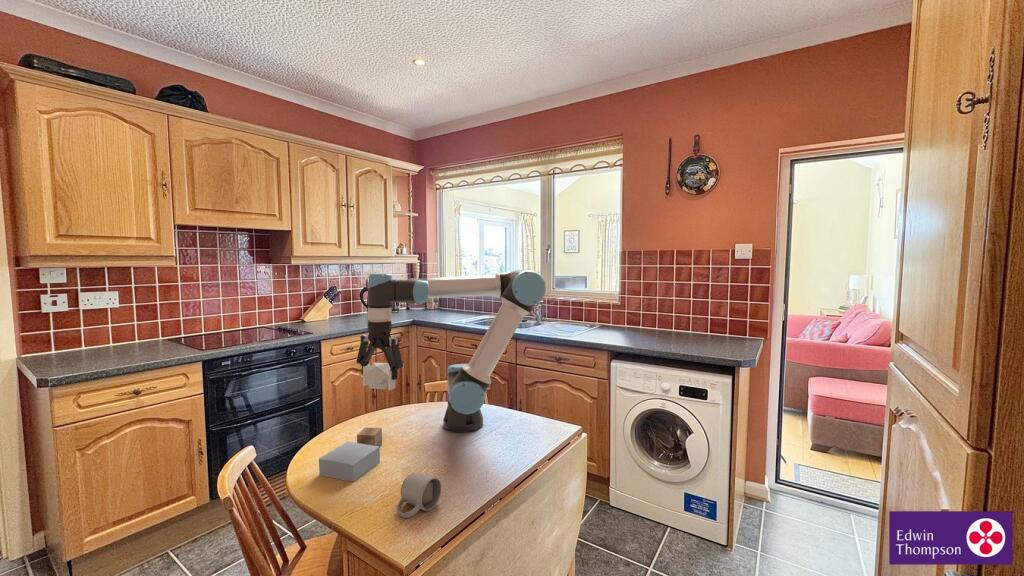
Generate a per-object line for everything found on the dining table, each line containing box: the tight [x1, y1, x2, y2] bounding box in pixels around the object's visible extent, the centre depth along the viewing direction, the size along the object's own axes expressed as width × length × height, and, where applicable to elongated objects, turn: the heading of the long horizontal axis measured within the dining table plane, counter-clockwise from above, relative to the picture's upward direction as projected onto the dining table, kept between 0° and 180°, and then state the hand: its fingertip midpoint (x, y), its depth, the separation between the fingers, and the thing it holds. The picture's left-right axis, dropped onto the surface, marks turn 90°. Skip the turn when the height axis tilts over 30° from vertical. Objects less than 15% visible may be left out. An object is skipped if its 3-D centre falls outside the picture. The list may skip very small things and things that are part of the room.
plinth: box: [318, 441, 381, 483], centre depth 123 cm, size 12×12×5 cm
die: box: [364, 362, 390, 390], centre depth 137 cm, size 8×9×10 cm
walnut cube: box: [356, 427, 383, 448], centre depth 137 cm, size 6×6×6 cm
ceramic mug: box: [396, 472, 442, 519], centre depth 104 cm, size 11×8×8 cm
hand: (379, 386), depth 137 cm, fingers closed on die, 10 cm apart
